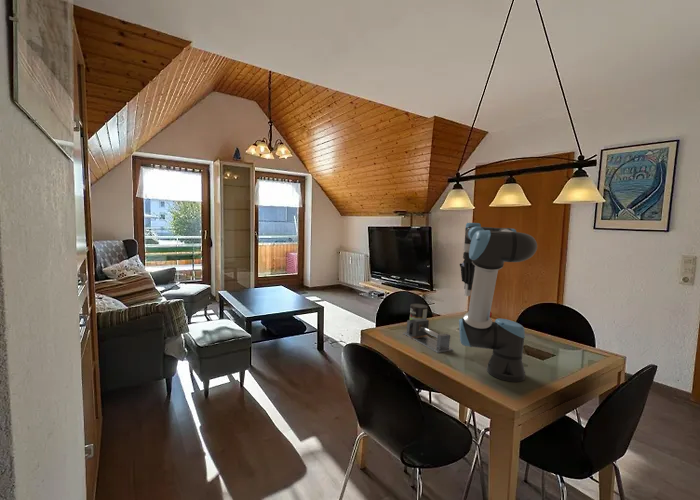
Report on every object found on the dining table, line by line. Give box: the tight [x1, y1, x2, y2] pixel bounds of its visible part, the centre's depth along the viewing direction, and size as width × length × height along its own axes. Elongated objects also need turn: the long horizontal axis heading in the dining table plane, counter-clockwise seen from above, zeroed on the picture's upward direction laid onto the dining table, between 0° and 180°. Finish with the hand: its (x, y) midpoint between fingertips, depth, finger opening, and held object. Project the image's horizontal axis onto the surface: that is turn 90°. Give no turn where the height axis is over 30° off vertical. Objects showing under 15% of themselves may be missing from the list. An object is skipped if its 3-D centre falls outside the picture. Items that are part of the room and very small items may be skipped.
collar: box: [412, 319, 430, 337], centre depth 187 cm, size 3×8×8 cm, turn 116°
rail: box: [402, 319, 454, 354], centre depth 182 cm, size 30×10×8 cm, turn 26°
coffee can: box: [409, 303, 428, 320], centre depth 205 cm, size 10×10×14 cm
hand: (467, 295), depth 180 cm, fingers closed
